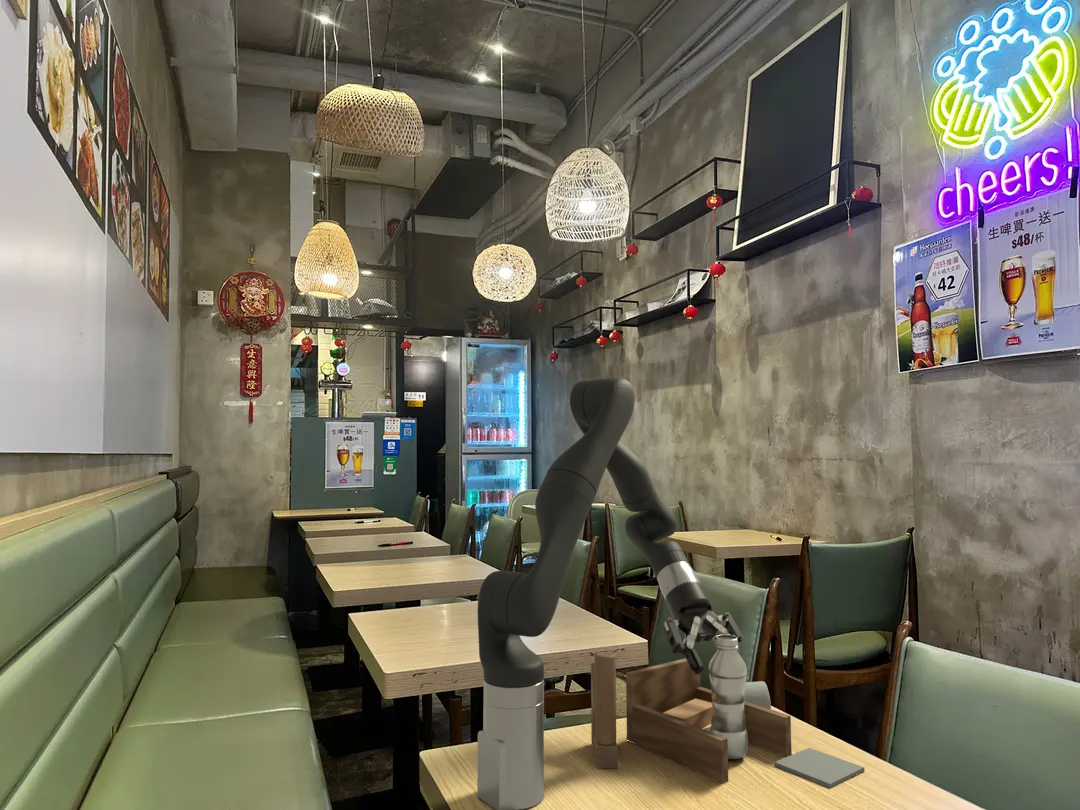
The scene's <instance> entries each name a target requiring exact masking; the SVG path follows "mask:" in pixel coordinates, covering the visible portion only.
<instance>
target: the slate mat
mask: <svg viewBox="0 0 1080 810" xmlns="http://www.w3.org/2000/svg"><path fill="white" fill-rule="evenodd" d="M774 767H776V768H779V769H782V770H785V771H787V772H790V773H792V774H794V775H797V776H799V777H802V778H804V779H807V780H809V781H812V782H815V783H817V784H819V785H822V786H825V787H827V788H829V789H830V788H834V787H836V786H837V785H839V784H841V783H843V782H846V781H847V780H850V779H851V777H852V776H854V777H855V775H856V774H858V775H859V773H860V774H861V772H862V773H863V771H864V772H865V767H864V766H861V765H858V764H856V763H853V762H850V761H848V760H846V759H843V758H839V757H836V756H833V755H830V754H828V753H825V752H822V751H820V750H816V749H814V748H811V747H808V748H805V749H803V750H800V751H798V752H796V753H792V755H790V756H787V757H786V756H785V757H783V758H781V759H779V760H777V761H774ZM856 776H857V775H856ZM849 778H850V779H849ZM852 778H853V777H852Z"/></svg>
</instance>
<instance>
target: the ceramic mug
mask: <svg viewBox="0 0 1080 810" xmlns="http://www.w3.org/2000/svg"><path fill="white" fill-rule="evenodd" d="M744 701H746V702H749V703H752V704H756V705H759V706H762V707H765V708H768V709H771V710H772V706H771V704H772V702H771V697H770V692H769V689H768V685H767V684H766V681H762V680H761V681H749V682H748V681H746V685H745V695H744Z"/></svg>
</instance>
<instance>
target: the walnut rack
mask: <svg viewBox="0 0 1080 810" xmlns="http://www.w3.org/2000/svg"><path fill="white" fill-rule="evenodd" d="M625 675H626V676H625V679H626V681H625V683H626V684H625V685H626V687H625V688H626V690H625V693H626V694H625V695H626V696H625V697H626V701H625V702H626V741H627V740H629V741H631V742H633V743H635V744H636V746H637V745H638V747H640V746H641V747H640V748H642V747H643V748H642V749H644V748H645V749H644V750H646V749H647V751H649V752H652V753H653V754H655V755H658V756H660V757H662V758H665V759H666V760H669V761H671V762H674V763H675V764H678V765H680V766H682V767H685V768H687V769H688V770H692V771H694V772H696V773H699V775H700V774H701V775H702V776H704V777H707V778H709V779H711V780H712V781H716V782H718V783H720V784H725V783H727V782H729V759H728V740H727V738H725V737H722V736H720V735H717V734H715V733H712V732H709V731H707V730H704V729H701V728H699V727H696V726H694V725H691V724H688V723H686V722H683V721H681V720H678V719H675V718H673V717H670V716H668V715H665V714H662V713H663V712H666V711H668V710H670V709H673V708H675V707H677V706H679V705H682V704H684V703H686V702H689V701H691V700H693V699H695V698H696V699H700V700H703V701H707V702H711V703H712V691H711V689H708V688H706V687H702V686H701V681H702V680H701V673H700V674H695V672H694V671H692V670H691V668H690V666H689V663H688V662H687V659H686V657H685V658H681V659H677V660H674V661H669V662H665V663H661V664H656V665H652V666H647V667H644V668H640V669H637V670H636V669H635V670H631V671H628V672H625ZM744 714H745V725H746V730H747V735H748V742H749V743H748V744H751V745H753V746H757V747H759V748H762V749H765V750H767V751H769V752H773V753H775V754H778V755H781V756H784V757H785V758H786V757H788V756H791V755H793V753H792V721H791V720H792V719H791V718H792V717H791V715H789V714H787V713H783V712H780V711H777V710H774V709H772V708H771V709H768V708H765V707H762V706H759V705H756V704H752V703H749V702H746V701H744ZM629 741H628V742H629ZM631 742H630V743H631ZM633 743H632V744H633ZM635 744H634V745H635Z"/></svg>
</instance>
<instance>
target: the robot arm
mask: <svg viewBox="0 0 1080 810" xmlns="http://www.w3.org/2000/svg"><path fill="white" fill-rule="evenodd" d="M569 406H570V412H571V414H572V417H573V419H574V421H575V422H576V424H577V427H578V428H579V430H580V431H581V432H582V434H583V435H582V437H579V439H578V440H577V441H575V443H573V444H572V445H571V446H570V447H569V448H567V449H566V450H565V451H563V452H562V453H561V455H559V456H558V457H557V458H556V459H555V460H554V461H553V462H552V463H551V465H550V466H549V468H548V470H547V472H546V474H545V476H544V478H543V479H542V483H541V485H540V486H539V488H538V491H537V494H536V496H535V497H536V498H535V505H534V508H535V518H536V522H537V526H538V530H539V536H540V544H539V549H538V553H537V555H536V558H535V561H534V563H533V565H532V567H531V569H530V570H529V572H528V573H527V572H522V571H521V572H519V571H511V570H496V571H493V572H490V573H489V574H488V575H487V576H486V577H485V578H484V580H483V582H482V583H481V586H480V588H479V589H480V590H479V593H478V599H477V631H478V654H479V655H478V656H479V661H480V664H481V667H482V670H483V708H482V710H483V714H482V715H483V716H482V717H483V719H482V721H483V725H482V727H483V728H482V730H479V731H478V733H477V775H476V776H477V778H476V779H477V786H476V791H477V792H476V793H477V795H476V796H477V797H478V798H479V799H480V800H482V801H483V802H484V803H486V804H487V805H489V806H490V807H491V808H493V809H494V810H524V809H529V808H532V807H534V806H537V805H538V804H540V803H541V802H542V801H543V799H544V797H545V722H544V721H545V665H544V664H545V663H544V661H543V659H542V658H541V657H540V656H539V655H538V654H536V652H534V651H532V650H531V649H530V648H529V647H528V646H527V645H526V644H525V642H523V639H521V637H527V638H536V637H538V636H540V635H542V634H543V633H545V632H546V630H547V628H548V627H549V626H550V624H551V623H552V620H553V618H554V616H555V613H556V610H557V607H558V604H559V601H560V600H559V599H560V597H561V593H562V590H563V586H564V583H565V580H566V577H567V576H566V575H567V572H568V568H569V565H570V562H571V559H572V555H573V553H574V551H575V548H576V545H577V542H578V539H579V537H580V534H581V531H582V529H583V527H584V524H585V521H586V520H587V517H588V515H589V512H590V510H591V507H592V505H593V503H594V501H595V498H596V495H597V492H598V489H599V486H600V484H601V481H602V479H603V476H604V474H605V471H606V469H607V472H608V473H609V475H610V477H611V479H612V481H613V483H614V485H615V488H616V490H617V493H618V494H619V497H620V500H621V501H622V505H623V506H624V508H625V509H627V510H628V511H629V512H631V513H632V512H633V513H634V514H632V515H630V516H628V517H627V519H626V520H625V524H624V530H625V533H626V537H628V539H629V540H630V541H631V543H632V544H633V545H634V546H635V547H636V548H637V549H638V550H639V551H640V553H641V554H642V555H644V558H646V560H647V561H648V563H649V566H650V567H651V569H652V571H653V573H654V576H655V578H656V580H657V582H658V586H659V589H660V591H661V594H662V596H663V598H664V600H665V603H666V605H667V607H668V610H669V611H670V613H671V616H668V617H667V618H666V620H665V621H664V623H663V624H662V628H663V632H664V634H665V637H666V639H667V642H668V645H669V647H670V649H671V653H673V654H675V655H677V654H682V655H683V657H685V658H686V659H687V662H688V663H689V666H690V668H691V670H692V671H694V672H695V674H700V675H701V673H702V672H703V671H704V665H703V663H702V660H701V658H700V656H699V654H698V652H697V650H696V649H695V648H694V646H695V643H701V642H703V641H704V642H711V641H712V642H713V643H714V644H716V636H717V633H719V635H733V636H736V637H737V639H738V646H740V644H741V643H742V642H743V640H745V636H744V634H743V633H742V631H741V630H740V628H739V626H738V625H737V623H736V621H735V620H734V618H733V616H732V615H731V613H730V612H729V611H724V614H720V615H717V614H716V613H715V612H714V611H713V610H712V609H713V608H712V602H711V601H710V598H709V596H708V595H707V592H706V590H705V589H704V587H703V585H702V583H701V582H700V580H699V577H698V575H697V573H696V572H695V571H694V569H693V567H692V566H691V564H690V563H689V561H688V558H687V556H686V555H685V553H684V551H683V549H682V547H681V545H680V544H679V543H678V542H676V541H672V540H667V541H662V540H664V539H666V538H669V537H671V536H673V535H674V534H675V532H676V531H677V528H678V521H677V517H676V516H675V514H674V512H673V511H672V509H670V507H668V505H667V504H666V503H665V502H664V501H663V500H662V499H661V497H660V495H659V494H658V493H657V491H656V488H655V486H654V484H653V481H652V479H651V477H650V474H649V472H648V469H647V468H646V466H645V465H644V463H643V462H642V460H641V459H640V458H639V457H638V456H637V455H636V454H635V453H633V451H631V449H629V448H628V447H627V446H626V445H625V444H623V442H621V438H622V436H623V435H624V432H625V431H626V429H627V427H628V425H629V423H630V421H631V418H632V416H633V413H634V409H635V391H634V387H633V386H632V384H631V383H630V382H629V380H627V379H625V378H622V377H605V378H603V377H602V378H590V379H585V380H579V381H578V382H576V383H575V384H574V386H573V387H572V388H571V390H570V395H569ZM679 631H681V632H682V633H683V634H684V639H683V640H682V638H681V635H680V633H679ZM737 652H738V654H739V655H740V656H741V658H742V659H743V661H744V662H745V657H744V656H743V654H742V651H741V649H740V648H739V649H737Z"/></svg>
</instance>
